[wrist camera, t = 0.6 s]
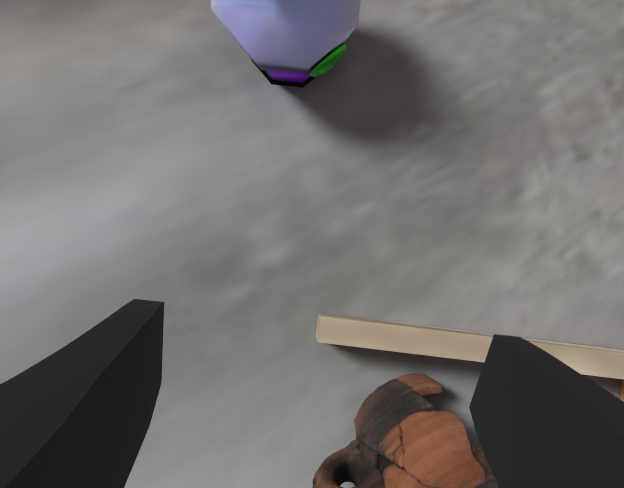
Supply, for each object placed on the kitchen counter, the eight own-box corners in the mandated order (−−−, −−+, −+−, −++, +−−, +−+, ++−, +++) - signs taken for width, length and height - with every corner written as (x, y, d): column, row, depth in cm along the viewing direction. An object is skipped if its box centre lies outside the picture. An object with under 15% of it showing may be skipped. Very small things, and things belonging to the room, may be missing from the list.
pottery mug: (462, 348, 32) (558, 433, 25) (453, 458, 35) (535, 561, 28) (287, 393, 29) (339, 507, 21) (296, 510, 32) (343, 642, 25)
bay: (629, 628, 30) (671, 673, 27) (286, 587, 30) (283, 626, 27) (645, 352, 32) (688, 360, 28) (318, 312, 32) (320, 316, 28)
